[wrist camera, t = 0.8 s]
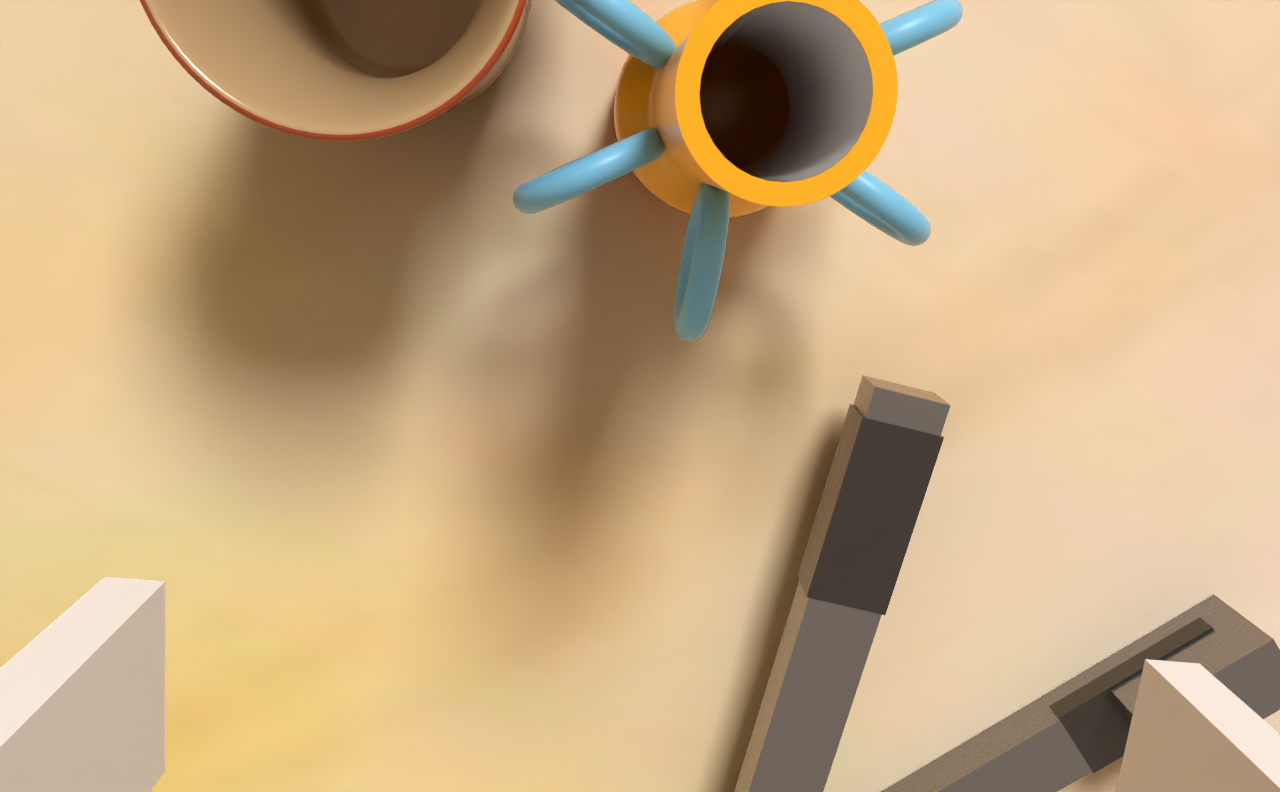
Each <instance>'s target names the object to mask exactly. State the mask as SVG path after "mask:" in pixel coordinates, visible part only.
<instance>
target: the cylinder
mask: <svg viewBox="0 0 1280 792" xmlns="http://www.w3.org/2000/svg"><path fill="white" fill-rule="evenodd" d="M555 1H556V2H558V3H559V4H560V5H561V6H563V7H564V8H565V9H567V10H568V11H569V12H570V13H572V14H573V15H574V16H576V17H577V18H578V19H580V20H581V21H583V22H584V23H585V24H587V25H588V26H589V27H591V28H592V29H594V30H595V31H596V32H598V33H599V34H601V35H602V36H604V37H605V38H606V39H608V40H609V41H611V42H612V43H614V44H615V45H617V46H618V47H620V48H621V49H623V50H624V51H626V52H628V53H629V55H628V57H627V59H626V61H625V63H624V66H623V68H622V71H621V74H620V77H619V80H618V84H617V89H616V94H615V101H614V124H615V131H616V136H617V140H618V141H617V142H615V143H613V144H610V145H608V146H606V147H604V148H601V149H599V150H597V151H595V152H592V153H590V154H588V155H586V156H583V157H581V158H579V159H577V160H575V161H572V162H570V163H568V164H566V165H563V166H561V167H559V168H557V169H555V170H552V171H550V172H548V173H546V174H544V175H542V176H539V177H537V178H535V179H533V180H531V181H529V182H526V183H524V184H522V185H521V186H519V187H518V188H517V189H516V191H515V192H514V196H513V201H514V205H515V206H516V208H517V209H518V210H519V211H520V212H522V213H525V214H533V213H536V212H539V211H542V210H545V209H547V208H550V207H552V206H555V205H557V204H560V203H562V202H565V201H567V200H569V199H572V198H574V197H576V196H579V195H581V194H583V193H586V192H588V191H590V190H592V189H595V188H597V187H599V186H601V185H604V184H606V183H608V182H610V181H612V180H615V179H617V178H619V177H621V176H623V175H625V174H628V173H630V172H632V171H633V173H634V174H635V175H636V177H637V178H638V179H639V180H640V181H641V182H642V184H643V185H644V186H645V187H646V188H647V189H648V190H649V191H651V192H652V193H653V194H654V195H655V196H657V197H658V198H659V199H661V200H662V201H663V202H665V203H667V204H668V205H670V206H672V207H674V208H676V209H678V210H681V211H683V212H686V213H689V214H690V217H689V221H688V226H687V230H686V235H685V240H684V245H683V250H682V255H681V261H680V267H679V273H678V280H677V287H676V295H675V304H674V329H675V332H676V334H677V335H678V337H679V338H681V339H682V340H684V341H695V340H697V339H699V338H700V337H701V336H702V335H703V333H704V332H705V330H706V328H707V325H708V323H709V320H710V317H711V314H712V311H713V307H714V303H715V299H716V295H717V291H718V286H719V282H720V277H721V272H722V266H723V261H724V255H725V249H726V242H727V234H728V225H729V218H731V217H738V216H743V215H747V214H751V213H754V212H757V211H759V210H762V209H764V208H766V207H768V206H779V207H786V206H798V205H804V204H808V203H812V202H815V201H818V200H821V199H824V198H826V197H828V196H830V197H831V198H833V199H834V200H836V201H837V202H838V203H840V204H841V205H843V206H844V207H846V208H847V209H849V210H850V211H851V212H853V213H854V214H856V215H857V216H859V217H860V218H862V219H863V220H865V221H867V222H868V223H870V224H871V225H873V226H874V227H876V228H878V229H879V230H881V231H882V232H884V233H886V234H887V235H889V236H891V237H893V238H894V239H896V240H898V241H900V242H902V243H904V244H907V245H911V246H917V245H920V244H922V243H924V242H925V241H926V240H927V239H928V237H929V235H930V224H929V222H928V220H927V219H926V217H925V216H924V215H923V214H922V213H921V212H920V211H919V210H918V209H917V208H916V207H915V206H913V205H912V204H911V203H910V202H909V201H907V200H906V199H905V198H904V197H902V196H901V195H900V194H898V193H897V192H896V191H895V190H893V189H892V188H890V187H889V186H888V185H886V184H885V183H884V182H882V181H881V180H879V179H878V178H876V177H875V176H873V175H872V174H871V173H869V172H868V171H866V170H865V169H866V168H867V167H868V166H869V165H870V164H871V162H872V161H873V160H874V158H875V157H876V156H877V154H878V152H879V151H880V149H881V147H882V146H883V144H884V142H885V140H886V138H887V135H888V133H889V130H890V128H891V125H892V121H893V118H894V114H895V109H896V102H897V72H896V66H895V61H894V57H893V56H894V55H896V54H898V53H900V52H903V51H905V50H907V49H909V48H912V47H914V46H916V45H918V44H920V43H923V42H925V41H927V40H929V39H931V38H933V37H935V36H937V35H939V34H941V33H943V32H945V31H947V30H949V29H951V28H953V27H954V26H955V25H956V24H957V23H958V22H959V21H960V19H961V17H962V6H961V4H960V2H959V1H958V0H934V1H931V2H929V3H927V4H924V5H922V6H920V7H917V8H915V9H913V10H911V11H908V12H906V13H904V14H901V15H899V16H897V17H895V18H892V19H890V20H888V21H886V22H883V23H881V24H879V23H878V22H877V20H876V19H875V17H874V16H873V15H872V14H871V12H870V11H869V10H868V9H867V8H866V7H865V6H864V5H863V4H862V3H861V2H860V1H859V0H697V1H694V2H691V3H688V4H685V5H683V6H680V7H678V8H676V9H674V10H673V11H671V12H669V13H668V14H666V15H664V16H663V17H662V18H660V19H659V20H658V21H656V22H655V21H654V20H653V19H651V18H650V17H649V16H648V15H647V14H645V13H644V12H643V11H642V10H640V9H639V8H638V7H637V6H635V5H634V4H633V3H631V2H630V1H629V0H555Z"/></svg>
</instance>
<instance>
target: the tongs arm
mask: <svg viewBox="0 0 1280 792" xmlns="http://www.w3.org/2000/svg"><path fill="white" fill-rule="evenodd" d="M949 408H950V405H949V404H948V403H947V402H945V401H944V400H943V399H942V398H940V397H939V396H938V395H936V394H935V393H931V392H927V391H923V390H919V389H915V388H911V387H907V386H903V385H899V384H895V383H891V382H887V381H883V380H879V379H875V378H871V377H867V376H862V380H861V383H860V386H859V389H858V392H857V396H856V399H855V402H854V405H852V404H850V406H849V410H848V413H847V416H846V419H845V423H844V426H843V429H842V432H841V436H840V439H839V442H838V445H837V449H836V452H835V455H834V458H833V462H832V465H831V468H830V471H829V474H828V478H827V481H826V484H825V487H824V491H823V494H822V497H821V500H820V504H819V507H818V510H817V513H816V517H815V520H814V523H813V526H812V530H811V533H810V536H809V539H808V543H807V546H806V549H805V552H804V556H803V559H802V562H801V565H800V569H799V572H798V575H797V577H798V579H799V583H798V587H797V590H796V593H795V596H794V599H793V603H792V606H791V609H790V612H789V616H788V619H787V622H786V625H785V629H784V632H783V635H782V638H781V641H780V645H779V648H778V651H777V654H776V658H775V661H774V664H773V667H772V671H771V674H770V677H769V680H768V684H767V687H766V690H765V693H764V696H763V700H762V703H761V706H760V709H759V713H758V716H757V719H756V722H755V726H754V729H753V732H752V735H751V738H750V742H749V745H748V748H747V751H746V755H745V758H744V761H743V764H742V768H741V771H740V774H739V777H738V781H737V784H736V787H735V790H734V792H823V790H824V787H825V784H826V781H827V778H828V775H829V772H830V769H831V766H832V763H833V760H834V757H835V754H836V751H837V748H838V745H839V742H840V739H841V736H842V733H843V730H844V727H845V724H846V721H847V718H848V715H849V711H850V708H851V705H852V702H853V699H854V696H855V693H856V690H857V687H858V684H859V681H860V678H861V675H862V672H863V669H864V666H865V663H866V660H867V657H868V654H869V651H870V648H871V645H872V642H873V639H874V636H875V633H876V630H877V627H878V624H879V620H880V617H881V614H882V615H885V614H886V611H887V608H888V605H889V602H890V599H891V596H892V593H893V590H894V587H895V584H896V581H897V578H898V575H899V572H900V569H901V566H902V563H903V559H904V556H905V553H906V550H907V547H908V544H909V541H910V538H911V535H912V532H913V529H914V526H915V523H916V520H917V517H918V514H919V511H920V508H921V505H922V502H923V499H924V496H925V493H926V490H927V487H928V484H929V481H930V478H931V475H932V472H933V469H934V466H935V463H936V460H937V457H938V454H939V451H940V448H941V445H942V442H943V438H944V437H943V436H942V435H941V432H942V429H943V426H944V423H945V420H946V417H947V414H948V411H949Z"/></svg>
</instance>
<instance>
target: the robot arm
mask: <svg viewBox="0 0 1280 792" xmlns="http://www.w3.org/2000/svg"><path fill="white" fill-rule="evenodd" d="M164 771H165V581H153V580H140V579H128V578H115V577H104V578H103V579H102V580H101V581H99V582H98V583H97V584H96V585H95V586H94V587H92V588H91V589H90V590H89V591H88V592H87V593H86V594H84V595H83V596H82V597H81V598H80V599H79V600H78V601H76V602H75V603H74V604H73V605H72V606H71V607H70V608H68V609H67V610H66V611H65V612H64V613H63V614H62V615H60V616H59V617H58V618H57V619H56V620H55V621H54V622H52V623H51V624H50V625H49V626H48V627H47V628H46V629H44V630H43V631H42V632H41V633H40V634H39V635H38V636H36V637H35V638H34V639H33V640H32V641H31V642H30V643H28V644H27V645H26V646H25V647H24V648H23V649H22V650H20V651H19V652H18V653H17V654H16V655H15V656H13V657H12V658H11V659H10V660H9V661H8V662H7V663H5V664H4V665H3V666H2V667H1V668H0V792H150V791H151V790H152V789H153V787H154V786H155V784H156V783H157V781H158V780H159V779H160V777H161V776H162V774H163V773H164ZM1116 792H1280V734H1279V733H1278V732H1277V731H1276V730H1275V729H1273V728H1272V727H1271V726H1270V725H1269V724H1268V723H1267V722H1266V721H1264V720H1263V719H1262V718H1261V717H1260V716H1259V715H1258V714H1256V713H1255V712H1254V711H1253V710H1252V709H1251V708H1250V707H1248V706H1247V705H1246V704H1245V703H1244V702H1243V701H1242V700H1240V699H1239V698H1238V697H1237V696H1236V695H1235V694H1234V693H1233V692H1231V691H1230V690H1229V689H1228V688H1227V687H1226V686H1225V685H1223V684H1222V683H1221V682H1220V681H1219V680H1218V679H1217V678H1215V677H1214V676H1213V675H1212V674H1211V673H1210V672H1209V671H1207V670H1206V669H1205V668H1204V667H1203V666H1202V665H1201V664H1200V663H1187V662H1174V661H1162V660H1149V659H1145V662H1144V667H1143V671H1142V676H1141V680H1140V685H1139V689H1138V694H1137V698H1136V703H1135V707H1134V711H1133V716H1132V720H1131V725H1130V729H1129V734H1128V738H1127V743H1126V747H1125V752H1124V756H1123V760H1122V765H1121V769H1120V774H1119V778H1118V783H1117V787H1116Z"/></svg>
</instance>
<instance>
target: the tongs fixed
mask: <svg viewBox="0 0 1280 792" xmlns="http://www.w3.org/2000/svg"><path fill="white" fill-rule="evenodd" d="M1145 659H1149V660H1162V661H1174V662H1187V663H1200V664H1201V665H1202V666H1203V667H1204V668H1205V669H1206V670H1207V671H1209V672H1210V673H1211V674H1212V675H1213V676H1214V677H1215V678H1217V679H1218V680H1219V681H1220V682H1221V683H1222V684H1223V685H1225V686H1226V687H1227V688H1228V689H1229V690H1230V691H1231V692H1233V693H1234V694H1235V695H1236V696H1237V697H1238V698H1239V699H1240V700H1242V701H1243V702H1244V703H1245V704H1246V705H1247V706H1248V707H1250V708H1251V709H1252V710H1253V711H1254V712H1255V713H1256V714H1258V715H1259V716H1260V717H1261V718H1262V719H1264V718H1266V717H1268V716H1270V715H1271V714H1273V713H1275V712H1276V711H1278V710H1280V650H1279V648H1278V646H1277V645H1276V643H1275V641H1274V639H1273V638H1271V637H1270V636H1269V635H1267V634H1266V633H1264V632H1263V631H1262V630H1260V629H1259V628H1258V627H1256V626H1255V625H1254V624H1252V623H1251V622H1250V621H1248V620H1247V619H1246V618H1244V617H1243V616H1242V615H1240V614H1239V613H1238V612H1236V611H1235V610H1234V609H1232V608H1231V607H1230V606H1228V605H1227V604H1226V603H1224V602H1223V601H1222V600H1220V599H1219V598H1218V597H1216V596H1215V595H1213V596H1211V597H1209V598H1208V599H1206V600H1204V601H1203V602H1201V603H1199V604H1198V605H1196V606H1194V607H1193V608H1191V609H1189V610H1188V611H1186V612H1184V613H1182V614H1181V615H1179V616H1177V617H1176V618H1174V619H1172V620H1171V621H1169V622H1167V623H1166V624H1164V625H1162V626H1161V627H1159V628H1157V629H1155V630H1154V631H1152V632H1150V633H1149V634H1147V635H1145V636H1144V637H1142V638H1140V639H1139V640H1137V641H1135V642H1134V643H1132V644H1130V645H1128V646H1127V647H1125V648H1123V649H1122V650H1120V651H1118V652H1117V653H1115V654H1113V655H1112V656H1110V657H1108V658H1106V659H1105V660H1103V661H1101V662H1100V663H1098V664H1096V665H1095V666H1093V667H1091V668H1090V669H1088V670H1086V671H1085V672H1083V673H1081V674H1079V675H1078V676H1076V677H1074V678H1073V679H1071V680H1069V681H1068V682H1066V683H1064V684H1063V685H1061V686H1059V687H1058V688H1056V689H1054V690H1052V691H1051V692H1049V693H1047V694H1046V695H1044V696H1042V697H1041V698H1039V699H1037V700H1036V701H1034V702H1032V703H1031V704H1029V705H1027V706H1025V707H1024V708H1022V709H1020V710H1019V711H1017V712H1015V713H1014V714H1012V715H1010V716H1009V717H1007V718H1005V719H1004V720H1002V721H1000V722H998V723H997V724H995V725H993V726H992V727H990V728H988V729H987V730H985V731H983V732H982V733H980V734H978V735H976V736H975V737H973V738H971V739H970V740H968V741H966V742H965V743H963V744H961V745H960V746H958V747H956V748H955V749H953V750H951V751H949V752H948V753H946V754H944V755H943V756H941V757H939V758H938V759H936V760H934V761H933V762H931V763H929V764H928V765H926V766H924V767H922V768H921V769H919V770H917V771H916V772H914V773H912V774H911V775H909V776H907V777H906V778H904V779H902V780H901V781H899V782H897V783H895V784H894V785H892V786H890V787H889V788H887V789H885V790H884V791H882V792H1057V791H1059V790H1060V789H1062V788H1064V787H1065V786H1067V785H1069V784H1071V783H1072V782H1074V781H1076V780H1078V779H1079V778H1081V777H1083V776H1084V775H1086V774H1088V773H1090V772H1091V771H1092V772H1093V773H1095V772H1096V771H1098V770H1100V769H1101V768H1103V767H1105V766H1107V765H1108V764H1110V763H1112V762H1113V761H1115V760H1117V759H1119V758H1120V757H1122V756H1124V752H1125V747H1126V743H1127V738H1128V734H1129V729H1130V725H1131V720H1132V716H1133V711H1134V707H1135V703H1136V698H1137V694H1138V689H1139V685H1140V680H1141V676H1142V671H1143V667H1144V662H1145Z"/></svg>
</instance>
